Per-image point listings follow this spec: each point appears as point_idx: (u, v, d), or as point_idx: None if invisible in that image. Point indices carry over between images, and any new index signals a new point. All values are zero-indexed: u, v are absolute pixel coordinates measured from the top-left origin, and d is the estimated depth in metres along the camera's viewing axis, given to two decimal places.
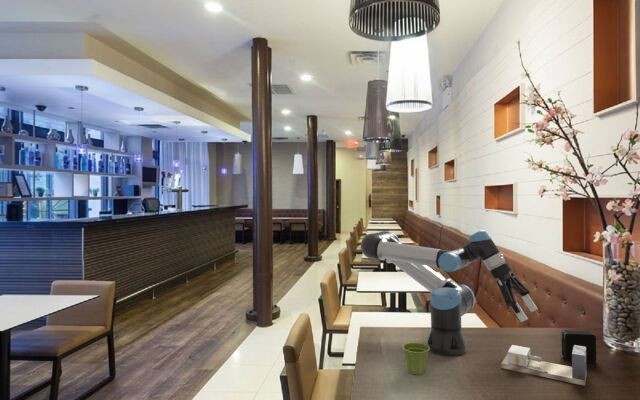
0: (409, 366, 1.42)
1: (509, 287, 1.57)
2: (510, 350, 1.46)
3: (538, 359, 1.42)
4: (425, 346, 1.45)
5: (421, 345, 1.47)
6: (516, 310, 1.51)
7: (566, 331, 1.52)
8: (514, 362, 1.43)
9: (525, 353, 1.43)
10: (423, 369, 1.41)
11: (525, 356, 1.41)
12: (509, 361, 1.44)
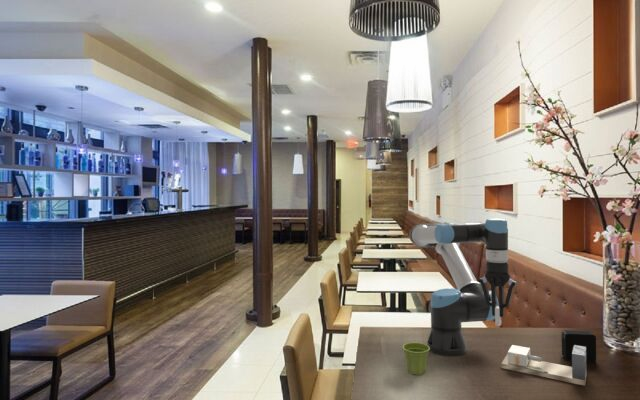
0: (409, 366, 1.42)
1: None
2: (510, 350, 1.46)
3: (538, 359, 1.42)
4: (425, 346, 1.45)
5: (421, 345, 1.47)
6: None
7: (566, 331, 1.52)
8: (514, 362, 1.43)
9: (525, 353, 1.43)
10: (423, 369, 1.41)
11: (525, 356, 1.41)
12: (509, 361, 1.44)
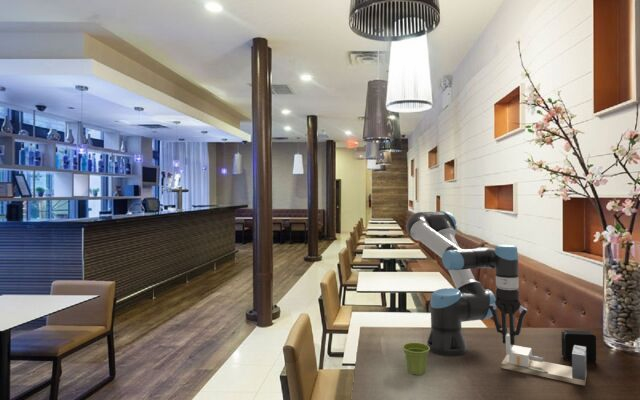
0: (409, 366, 1.42)
1: (501, 315, 1.48)
2: (511, 350, 1.45)
3: (539, 359, 1.41)
4: (425, 346, 1.45)
5: (421, 345, 1.47)
6: None
7: (566, 331, 1.52)
8: (515, 362, 1.43)
9: (526, 353, 1.42)
10: (423, 369, 1.41)
11: (526, 356, 1.41)
12: (511, 361, 1.44)
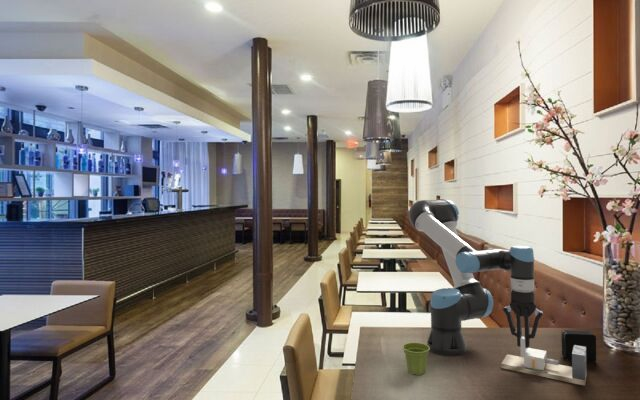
0: (409, 366, 1.42)
1: None
2: (526, 353, 1.43)
3: (555, 362, 1.39)
4: (425, 346, 1.45)
5: (421, 345, 1.47)
6: None
7: (566, 331, 1.52)
8: (530, 365, 1.40)
9: (542, 356, 1.40)
10: (423, 369, 1.41)
11: (542, 359, 1.38)
12: (525, 364, 1.41)
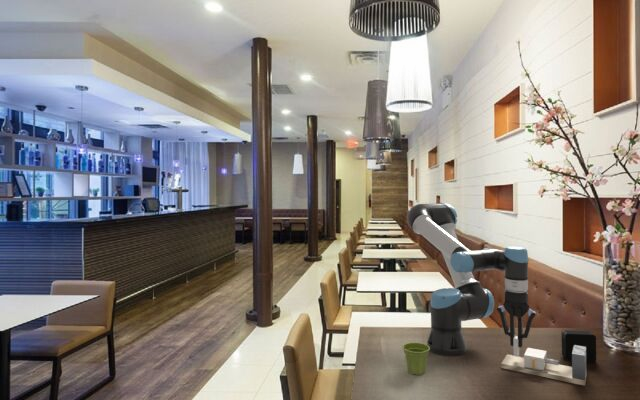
0: (409, 366, 1.42)
1: (510, 317, 1.47)
2: (526, 353, 1.43)
3: (555, 362, 1.39)
4: (425, 346, 1.45)
5: (421, 345, 1.47)
6: None
7: (566, 331, 1.52)
8: (531, 365, 1.40)
9: (542, 356, 1.40)
10: (423, 369, 1.41)
11: (542, 359, 1.38)
12: (526, 364, 1.41)
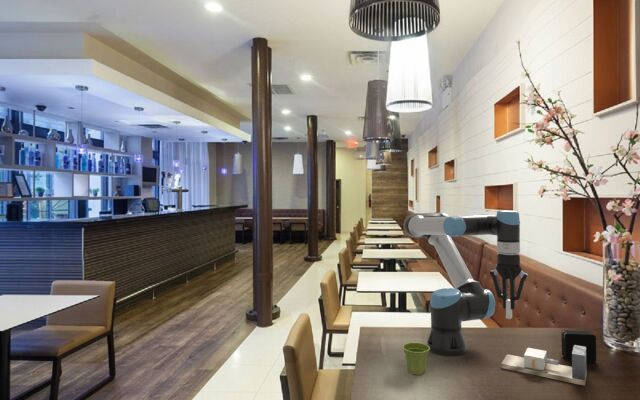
0: (409, 366, 1.42)
1: None
2: (526, 353, 1.43)
3: (555, 362, 1.39)
4: (425, 346, 1.45)
5: (421, 345, 1.47)
6: None
7: (566, 331, 1.52)
8: (531, 365, 1.40)
9: (542, 356, 1.40)
10: (423, 369, 1.41)
11: (542, 359, 1.38)
12: (526, 364, 1.41)
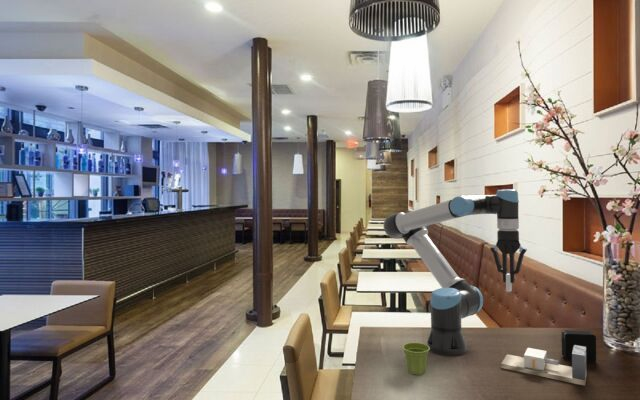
0: (409, 366, 1.42)
1: None
2: (526, 353, 1.43)
3: (555, 362, 1.39)
4: (425, 346, 1.45)
5: (421, 345, 1.47)
6: None
7: (566, 331, 1.52)
8: (531, 365, 1.40)
9: (542, 356, 1.40)
10: (423, 369, 1.41)
11: (542, 359, 1.38)
12: (526, 364, 1.41)
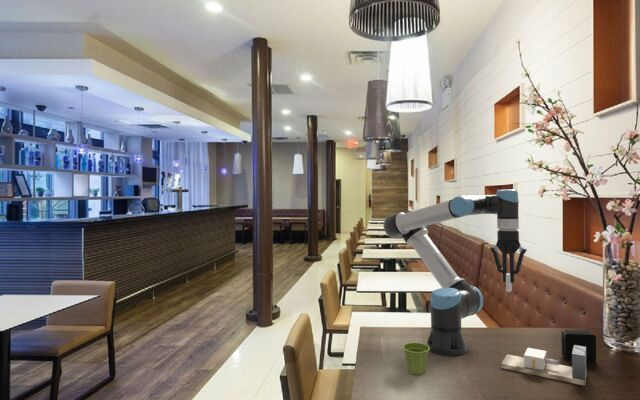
0: (409, 366, 1.42)
1: None
2: (526, 353, 1.43)
3: (555, 362, 1.39)
4: (425, 346, 1.45)
5: (421, 345, 1.47)
6: None
7: (566, 331, 1.52)
8: (531, 365, 1.40)
9: (542, 356, 1.40)
10: (423, 369, 1.41)
11: (542, 359, 1.38)
12: (526, 364, 1.41)
